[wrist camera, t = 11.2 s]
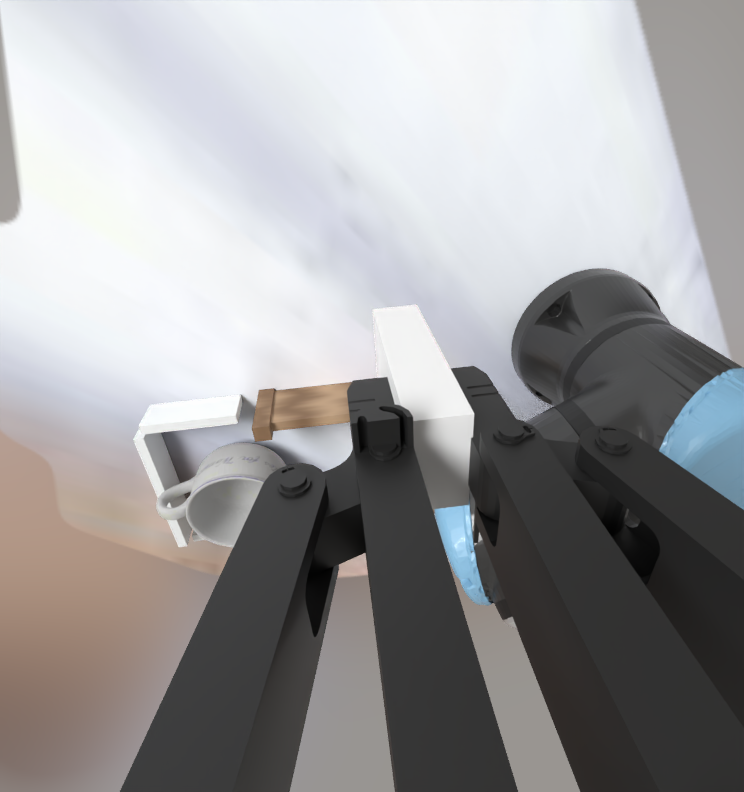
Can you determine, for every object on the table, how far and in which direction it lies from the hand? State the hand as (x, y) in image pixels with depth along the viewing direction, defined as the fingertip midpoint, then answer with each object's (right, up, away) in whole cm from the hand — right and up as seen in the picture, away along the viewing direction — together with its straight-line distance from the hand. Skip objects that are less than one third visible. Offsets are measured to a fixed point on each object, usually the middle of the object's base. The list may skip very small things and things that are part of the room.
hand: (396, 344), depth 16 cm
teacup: (-17, -10, +39) cm, 44 cm away
